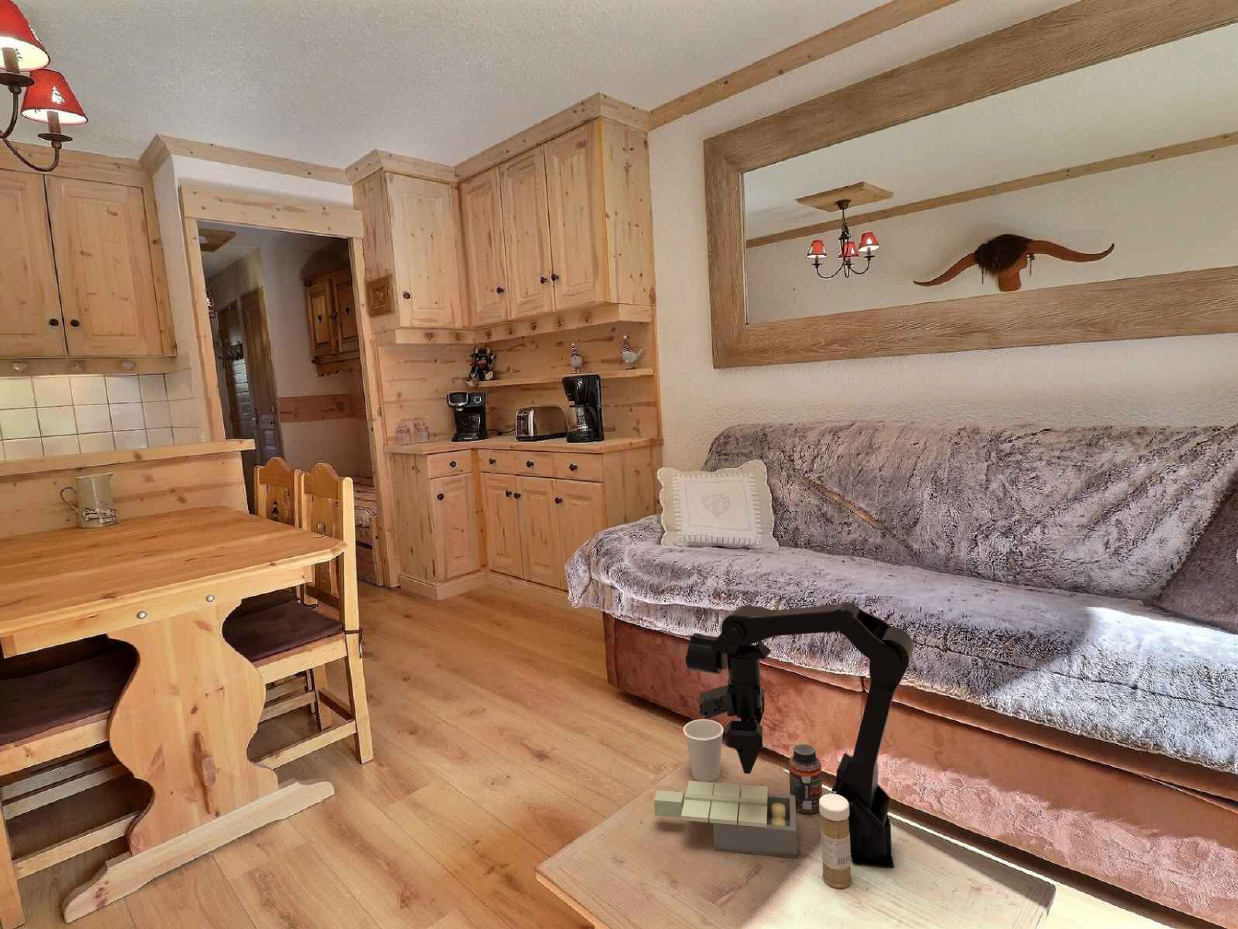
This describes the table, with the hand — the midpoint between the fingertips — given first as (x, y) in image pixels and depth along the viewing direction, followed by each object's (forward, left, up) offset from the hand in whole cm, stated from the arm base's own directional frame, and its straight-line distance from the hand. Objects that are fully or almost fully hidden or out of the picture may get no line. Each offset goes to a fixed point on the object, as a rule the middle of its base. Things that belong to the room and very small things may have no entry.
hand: (748, 759), depth 121 cm
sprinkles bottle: (-14, +13, -12) cm, 23 cm away
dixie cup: (+10, -14, -12) cm, 21 cm away
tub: (-1, +4, -12) cm, 13 cm away
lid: (+7, +4, -9) cm, 12 cm away
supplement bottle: (-10, -6, -12) cm, 17 cm away
